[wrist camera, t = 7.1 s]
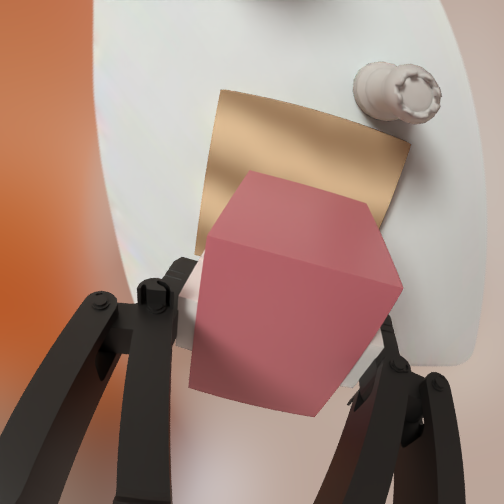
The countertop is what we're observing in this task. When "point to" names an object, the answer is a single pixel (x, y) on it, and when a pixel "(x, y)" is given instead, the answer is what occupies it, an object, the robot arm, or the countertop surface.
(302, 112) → the base plate
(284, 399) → the brick
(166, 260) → the countertop surface
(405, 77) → the rook chess piece
